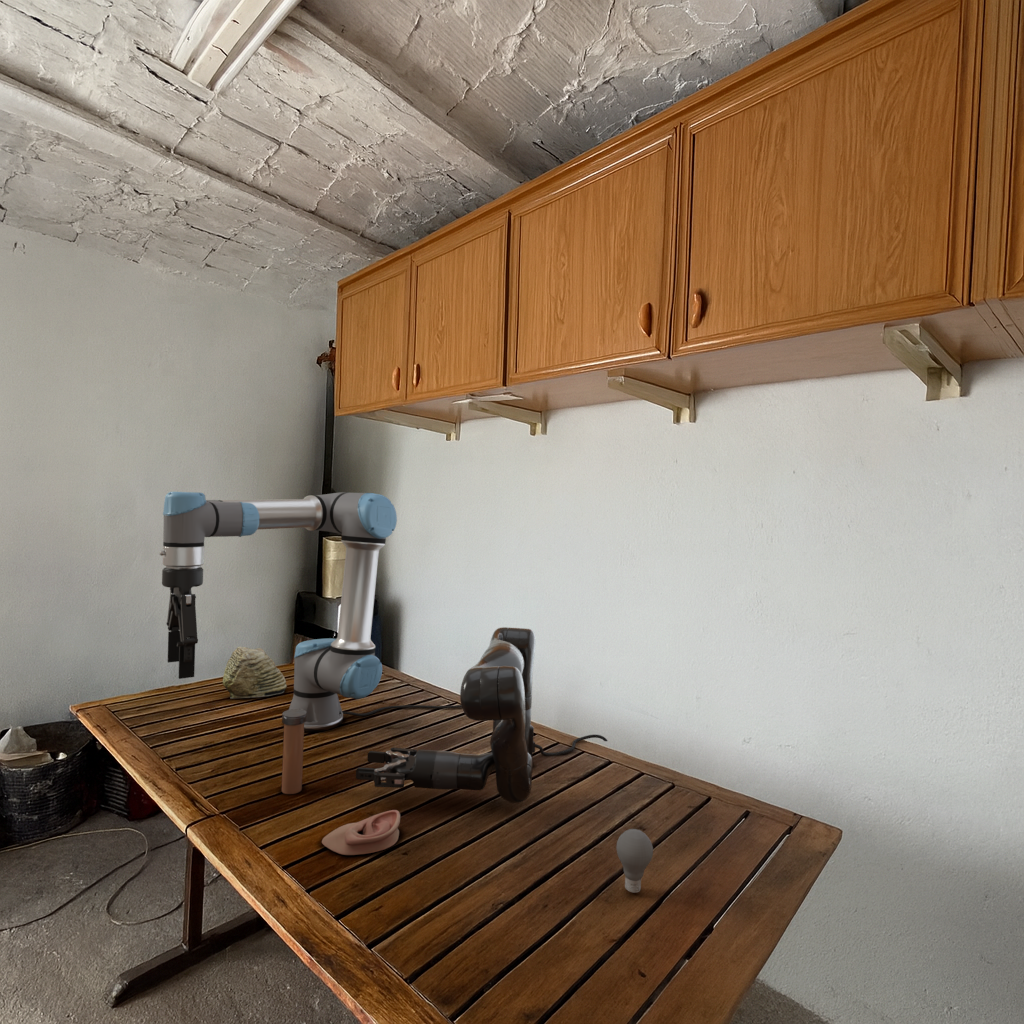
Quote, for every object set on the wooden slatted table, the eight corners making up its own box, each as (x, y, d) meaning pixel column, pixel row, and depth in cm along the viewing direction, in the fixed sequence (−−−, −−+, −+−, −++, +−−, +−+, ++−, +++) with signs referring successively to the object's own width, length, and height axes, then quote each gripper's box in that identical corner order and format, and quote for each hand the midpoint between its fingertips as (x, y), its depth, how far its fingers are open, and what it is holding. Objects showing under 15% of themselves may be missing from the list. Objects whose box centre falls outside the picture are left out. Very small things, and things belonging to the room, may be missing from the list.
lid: (277, 723, 134) (277, 714, 134) (291, 716, 139) (291, 707, 139) (297, 726, 133) (298, 717, 133) (310, 719, 138) (311, 710, 138)
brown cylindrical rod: (277, 792, 135) (280, 716, 135) (289, 784, 139) (291, 710, 139) (294, 795, 134) (297, 719, 133) (305, 787, 138) (308, 713, 137)
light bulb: (610, 879, 108) (613, 822, 108) (644, 879, 109) (647, 822, 109) (619, 902, 102) (622, 840, 102) (655, 901, 103) (658, 840, 103)
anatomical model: (313, 828, 113) (343, 799, 125) (313, 850, 113) (342, 819, 125) (383, 839, 111) (407, 808, 122) (382, 862, 111) (406, 829, 122)
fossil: (218, 695, 195) (220, 647, 195) (278, 685, 208) (279, 640, 207) (228, 703, 189) (230, 653, 188) (289, 692, 201) (290, 645, 201)
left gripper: (153, 560, 138) (151, 657, 139) (172, 574, 118) (169, 687, 119) (191, 559, 142) (189, 653, 143) (216, 573, 122) (213, 682, 123)
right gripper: (443, 739, 141) (372, 734, 142) (432, 766, 127) (352, 760, 128) (442, 772, 141) (370, 767, 142) (431, 803, 127) (351, 797, 128)
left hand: (180, 669), depth 131 cm, fingers open, 13 cm apart
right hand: (362, 764), depth 135 cm, fingers open, 8 cm apart
